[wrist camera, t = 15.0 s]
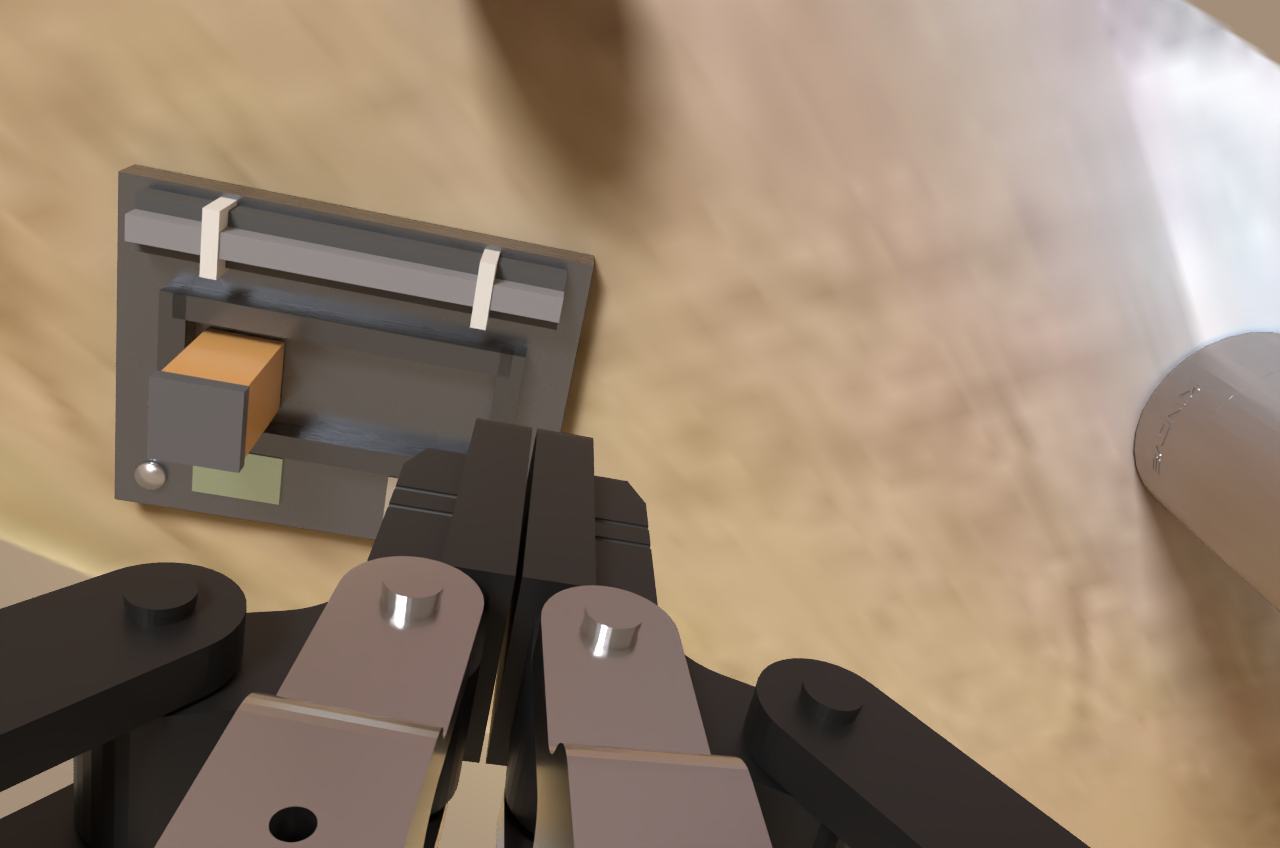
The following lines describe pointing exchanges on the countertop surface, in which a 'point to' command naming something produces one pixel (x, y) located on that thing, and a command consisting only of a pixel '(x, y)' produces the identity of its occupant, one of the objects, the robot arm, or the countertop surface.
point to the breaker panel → (330, 368)
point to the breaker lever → (214, 400)
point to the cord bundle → (344, 258)
